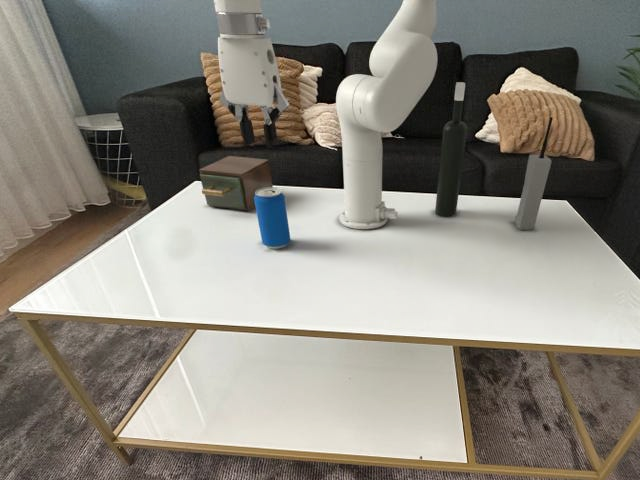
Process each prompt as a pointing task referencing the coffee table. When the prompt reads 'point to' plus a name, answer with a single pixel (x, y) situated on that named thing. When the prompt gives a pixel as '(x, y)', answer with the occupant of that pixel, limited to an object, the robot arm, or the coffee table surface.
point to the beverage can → (272, 217)
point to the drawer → (223, 190)
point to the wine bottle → (451, 158)
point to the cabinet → (243, 175)
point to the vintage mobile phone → (533, 187)
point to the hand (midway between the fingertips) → (260, 143)
